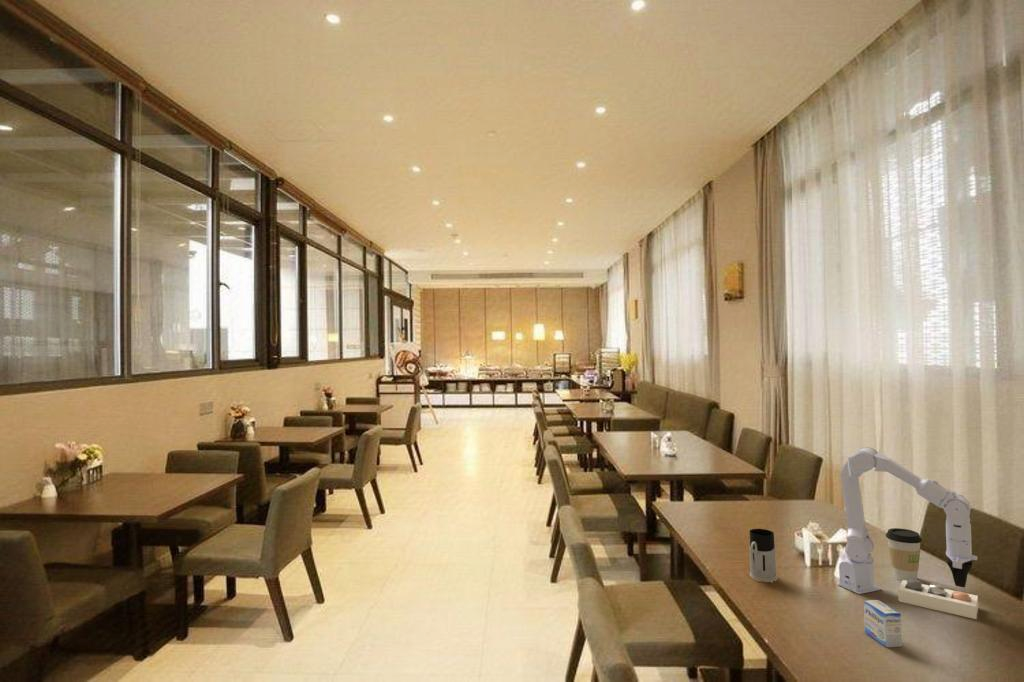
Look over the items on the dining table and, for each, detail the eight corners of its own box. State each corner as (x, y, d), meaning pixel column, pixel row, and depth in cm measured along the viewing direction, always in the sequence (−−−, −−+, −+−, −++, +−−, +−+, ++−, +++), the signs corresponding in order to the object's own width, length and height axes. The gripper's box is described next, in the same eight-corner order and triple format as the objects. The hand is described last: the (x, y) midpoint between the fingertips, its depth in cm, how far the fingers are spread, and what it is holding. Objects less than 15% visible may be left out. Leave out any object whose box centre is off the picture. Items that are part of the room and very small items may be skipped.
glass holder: (781, 576, 188) (779, 531, 188) (766, 590, 178) (764, 542, 178) (754, 570, 194) (753, 526, 194) (738, 583, 184) (737, 537, 184)
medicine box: (864, 632, 150) (863, 600, 150) (879, 631, 151) (878, 599, 151) (886, 648, 142) (884, 613, 142) (902, 647, 143) (901, 612, 143)
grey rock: (929, 596, 165) (928, 586, 165) (930, 592, 168) (930, 582, 168) (944, 599, 163) (944, 589, 163) (945, 595, 165) (945, 585, 165)
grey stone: (906, 591, 169) (906, 581, 169) (908, 587, 171) (907, 577, 171) (921, 594, 166) (920, 584, 166) (922, 590, 169) (922, 580, 169)
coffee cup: (930, 585, 178) (928, 537, 178) (895, 583, 180) (893, 536, 180) (914, 573, 188) (912, 528, 188) (881, 571, 190) (880, 527, 190)
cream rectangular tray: (898, 601, 168) (898, 589, 168) (903, 591, 174) (902, 579, 174) (976, 619, 156) (975, 606, 156) (978, 607, 162) (977, 595, 162)
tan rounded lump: (952, 604, 161) (952, 594, 161) (954, 600, 164) (953, 590, 164) (968, 608, 159) (968, 597, 159) (969, 603, 161) (969, 593, 162)
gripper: (974, 548, 154) (976, 598, 153) (978, 534, 164) (979, 581, 164) (942, 543, 158) (944, 591, 158) (947, 530, 169) (949, 575, 169)
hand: (960, 586), depth 161 cm, fingers closed
